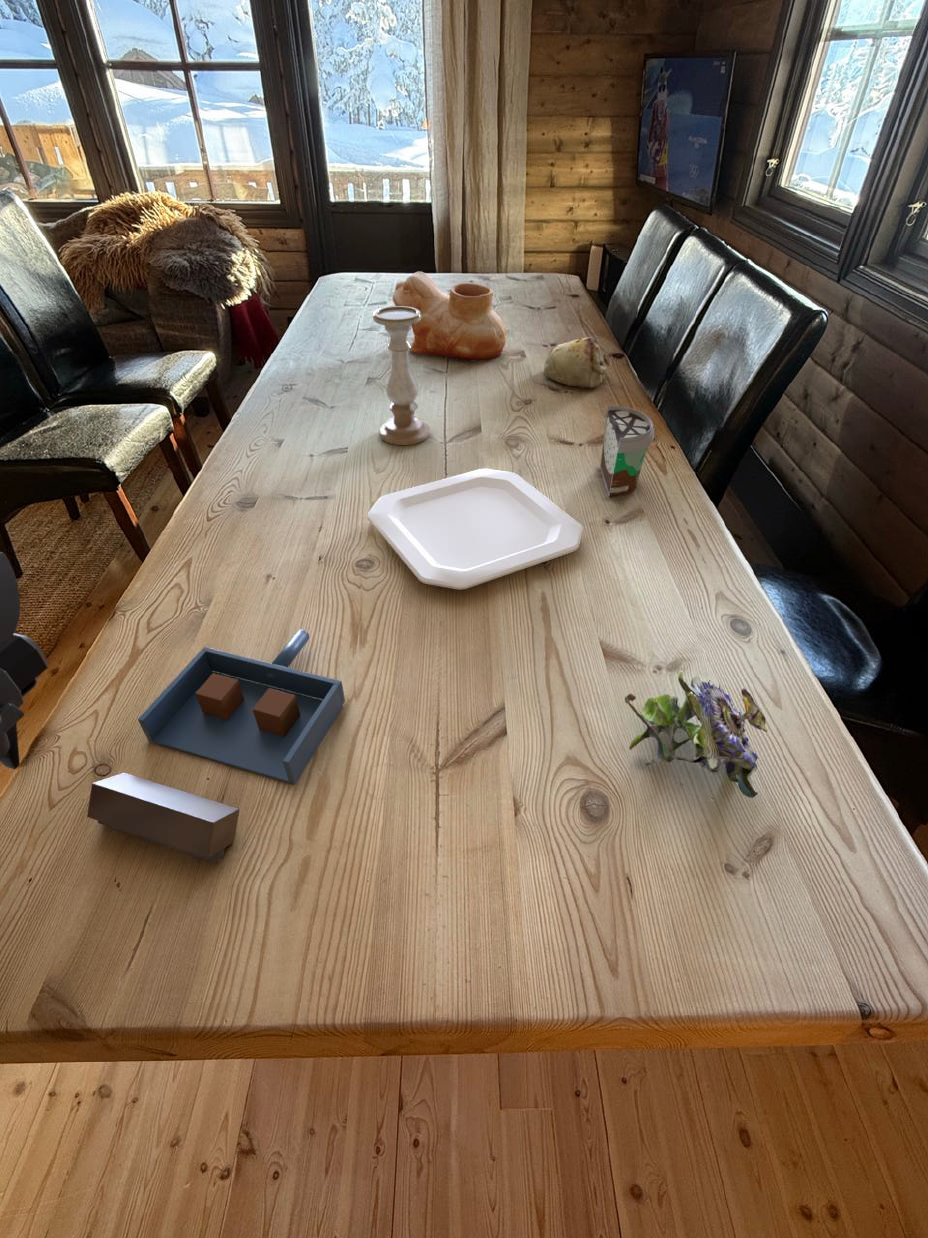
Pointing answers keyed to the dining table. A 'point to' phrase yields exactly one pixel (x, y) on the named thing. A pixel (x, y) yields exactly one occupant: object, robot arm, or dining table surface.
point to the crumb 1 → (220, 696)
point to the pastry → (576, 363)
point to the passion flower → (704, 729)
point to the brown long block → (164, 815)
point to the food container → (624, 448)
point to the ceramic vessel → (452, 319)
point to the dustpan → (246, 713)
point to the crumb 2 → (276, 712)
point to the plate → (473, 528)
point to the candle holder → (401, 378)
